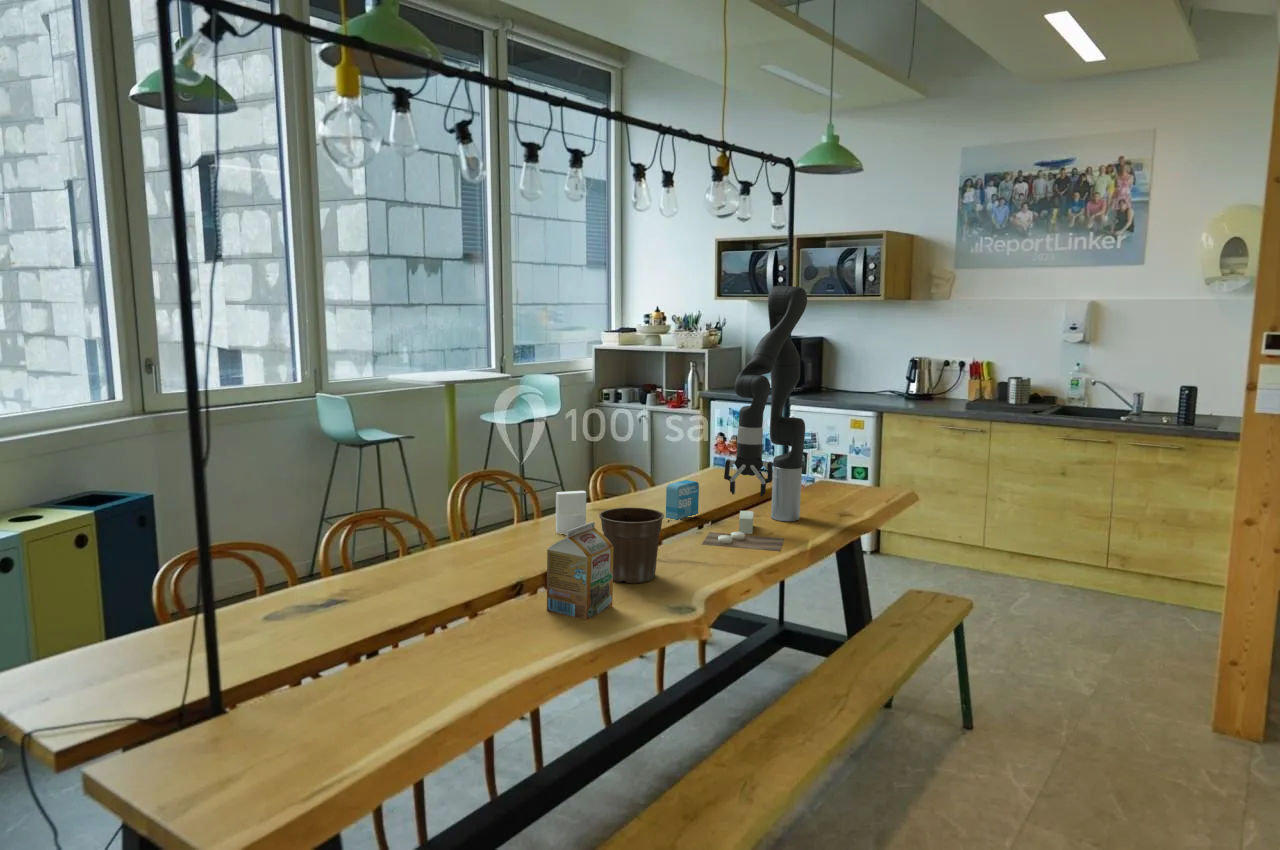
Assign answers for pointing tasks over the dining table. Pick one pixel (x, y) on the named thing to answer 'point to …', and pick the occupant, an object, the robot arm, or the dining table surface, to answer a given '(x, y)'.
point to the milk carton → (580, 573)
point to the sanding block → (746, 522)
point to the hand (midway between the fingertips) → (747, 494)
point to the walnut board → (747, 542)
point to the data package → (682, 499)
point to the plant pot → (633, 542)
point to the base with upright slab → (570, 510)
